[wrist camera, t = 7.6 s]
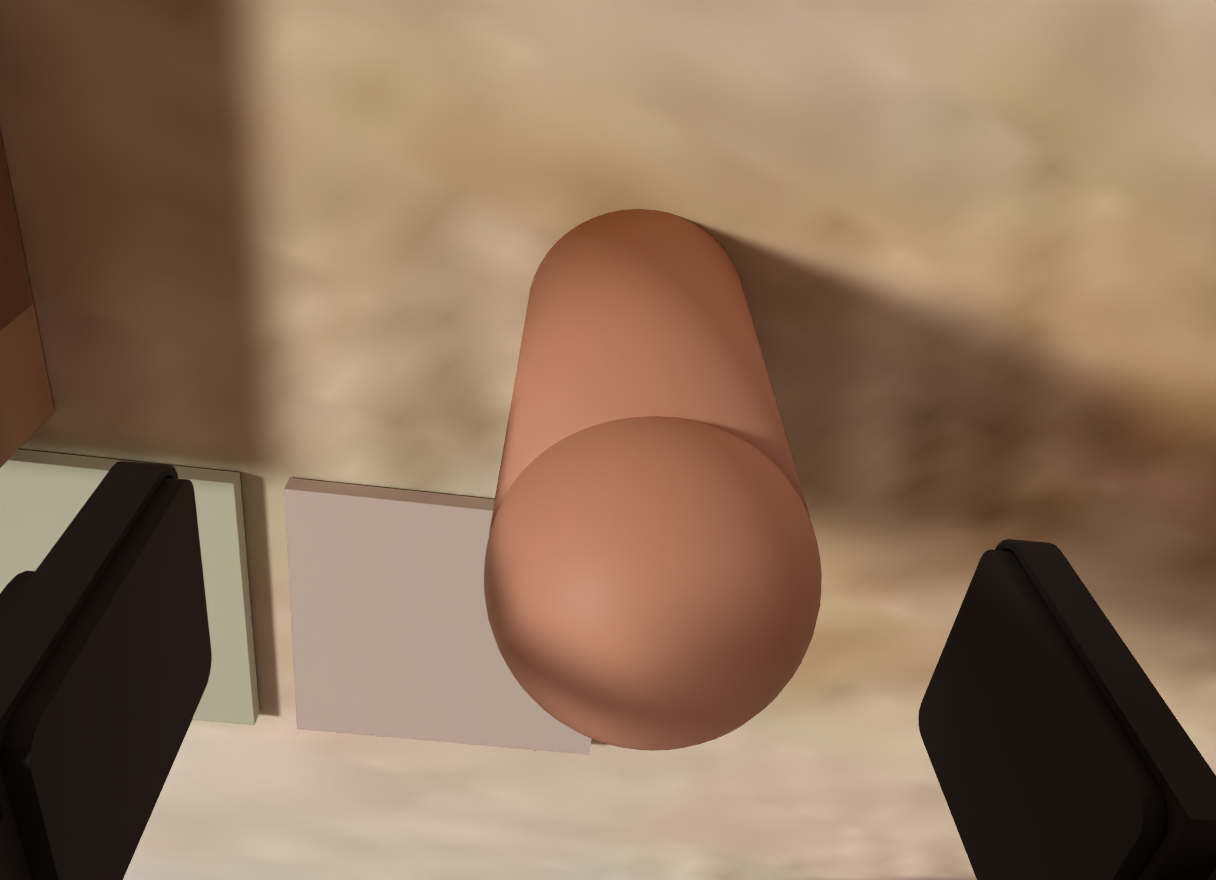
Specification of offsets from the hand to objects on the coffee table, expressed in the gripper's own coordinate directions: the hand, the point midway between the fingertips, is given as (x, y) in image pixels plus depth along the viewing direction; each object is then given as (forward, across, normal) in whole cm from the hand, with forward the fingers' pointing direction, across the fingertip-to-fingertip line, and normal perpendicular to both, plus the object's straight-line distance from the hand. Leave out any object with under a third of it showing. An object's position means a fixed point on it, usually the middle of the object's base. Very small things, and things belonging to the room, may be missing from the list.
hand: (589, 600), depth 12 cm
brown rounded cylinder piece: (+8, -1, 0) cm, 8 cm away
